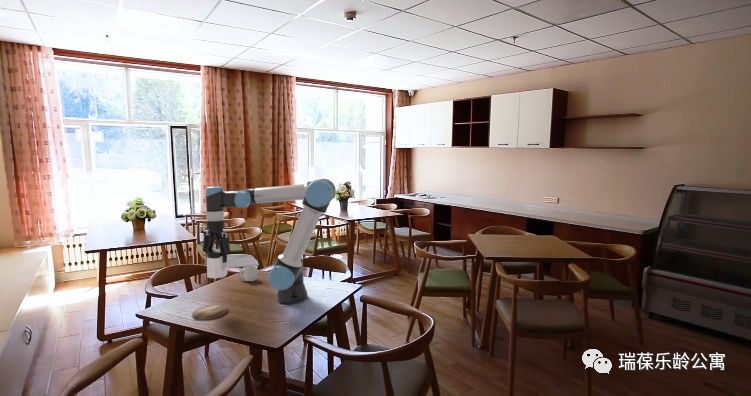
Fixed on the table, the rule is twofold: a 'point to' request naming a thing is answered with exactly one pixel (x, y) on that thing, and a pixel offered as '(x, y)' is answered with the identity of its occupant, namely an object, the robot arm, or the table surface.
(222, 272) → the jar
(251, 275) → the cup
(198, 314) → the disc
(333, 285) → the table surface
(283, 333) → the table surface
